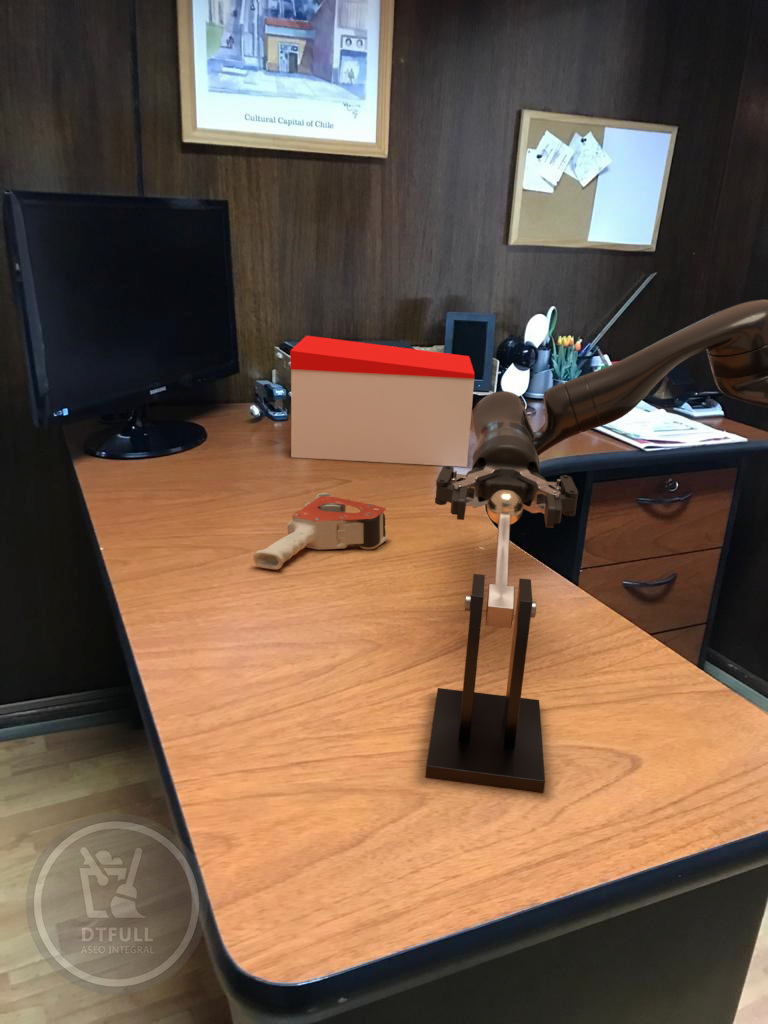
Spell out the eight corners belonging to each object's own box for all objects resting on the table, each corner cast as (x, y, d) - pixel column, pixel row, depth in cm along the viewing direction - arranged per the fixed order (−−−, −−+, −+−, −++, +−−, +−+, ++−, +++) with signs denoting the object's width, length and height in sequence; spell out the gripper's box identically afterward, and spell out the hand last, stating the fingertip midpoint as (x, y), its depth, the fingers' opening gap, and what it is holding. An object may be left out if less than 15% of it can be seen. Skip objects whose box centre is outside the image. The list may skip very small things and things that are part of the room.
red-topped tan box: (304, 430, 172) (305, 335, 164) (462, 439, 170) (470, 343, 163) (289, 457, 152) (289, 350, 145) (467, 467, 151) (475, 360, 144)
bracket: (436, 697, 77) (448, 553, 72) (537, 710, 76) (557, 564, 71) (425, 777, 66) (437, 613, 61) (543, 792, 65) (567, 627, 59)
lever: (486, 509, 80) (489, 480, 78) (521, 512, 79) (525, 483, 77) (476, 630, 67) (479, 600, 64) (518, 634, 66) (523, 604, 64)
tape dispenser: (256, 584, 103) (401, 565, 107) (253, 549, 100) (401, 531, 105) (245, 529, 118) (372, 514, 123) (242, 497, 116) (371, 483, 120)
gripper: (564, 502, 89) (576, 557, 74) (441, 491, 91) (428, 543, 76) (572, 439, 87) (586, 483, 72) (445, 429, 88) (433, 470, 73)
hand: (505, 514), depth 74 cm, fingers open, 8 cm apart
